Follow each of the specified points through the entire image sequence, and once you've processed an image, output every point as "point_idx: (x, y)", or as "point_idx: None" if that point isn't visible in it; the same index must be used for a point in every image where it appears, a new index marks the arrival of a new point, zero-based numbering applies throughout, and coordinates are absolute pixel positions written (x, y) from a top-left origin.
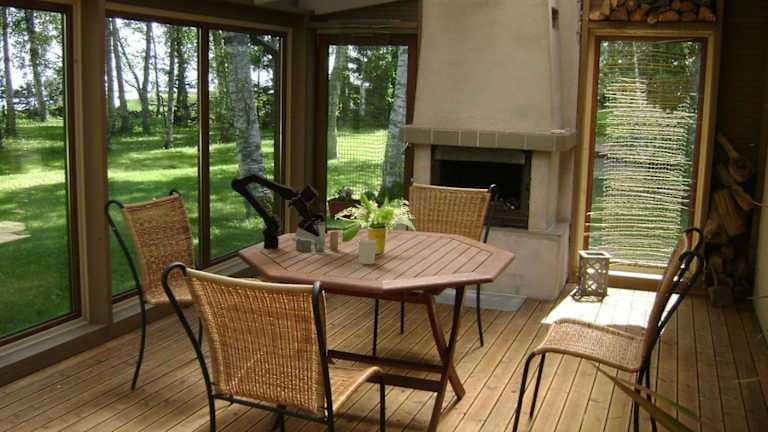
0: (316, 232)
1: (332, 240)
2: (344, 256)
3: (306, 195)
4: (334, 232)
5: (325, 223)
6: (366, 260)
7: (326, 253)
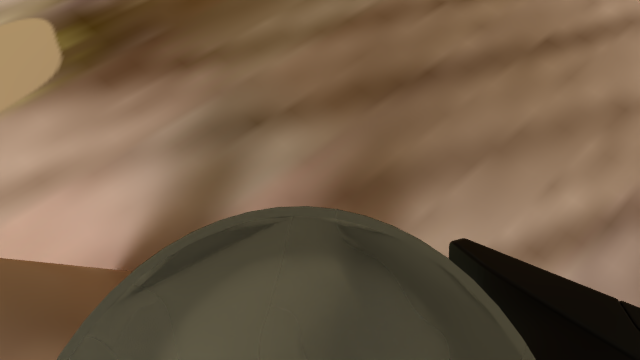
0: (533, 273)
1: None
2: (288, 104)
3: None
4: (2, 278)
5: (209, 236)
6: None
7: None
